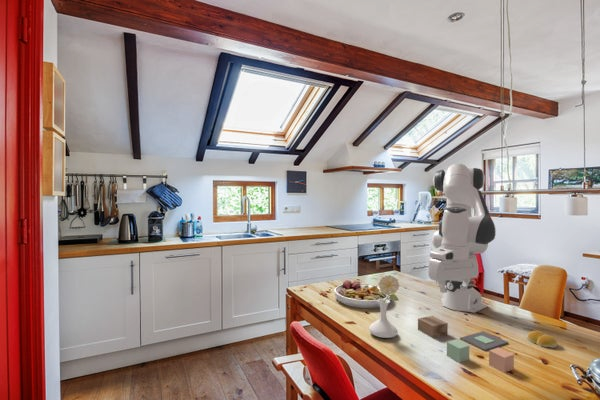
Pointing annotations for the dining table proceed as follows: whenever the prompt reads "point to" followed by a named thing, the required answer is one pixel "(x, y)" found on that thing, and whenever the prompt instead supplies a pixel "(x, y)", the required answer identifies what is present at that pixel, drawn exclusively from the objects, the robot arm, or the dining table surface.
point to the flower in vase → (385, 308)
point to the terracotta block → (501, 359)
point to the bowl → (359, 294)
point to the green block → (458, 350)
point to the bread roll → (542, 339)
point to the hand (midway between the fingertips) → (453, 291)
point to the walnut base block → (432, 326)
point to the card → (484, 341)
